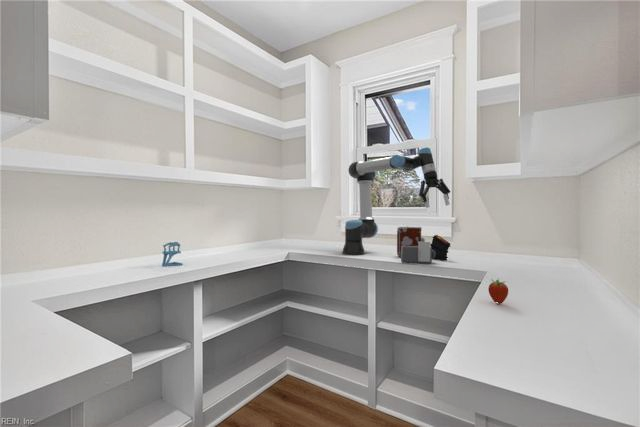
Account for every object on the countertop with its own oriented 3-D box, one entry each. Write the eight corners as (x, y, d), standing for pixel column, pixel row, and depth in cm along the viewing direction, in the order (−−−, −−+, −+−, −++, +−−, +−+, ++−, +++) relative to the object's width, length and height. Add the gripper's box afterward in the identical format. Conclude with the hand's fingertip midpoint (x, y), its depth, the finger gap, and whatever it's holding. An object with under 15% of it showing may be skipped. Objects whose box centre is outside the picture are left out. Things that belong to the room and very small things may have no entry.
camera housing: (402, 263, 176) (402, 245, 176) (400, 260, 187) (401, 244, 187) (436, 264, 173) (436, 246, 173) (433, 261, 183) (433, 245, 183)
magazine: (429, 255, 201) (437, 234, 196) (444, 266, 191) (453, 245, 185) (425, 255, 199) (433, 234, 194) (440, 267, 189) (449, 245, 183)
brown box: (429, 258, 198) (430, 226, 198) (399, 257, 199) (399, 226, 199) (425, 256, 208) (425, 226, 208) (396, 255, 208) (396, 226, 208)
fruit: (487, 304, 96) (488, 278, 96) (488, 300, 100) (488, 275, 100) (508, 307, 93) (508, 280, 93) (508, 303, 97) (508, 277, 97)
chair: (159, 265, 159) (159, 242, 159) (175, 263, 166) (175, 241, 166) (167, 267, 154) (167, 243, 154) (183, 265, 161) (183, 242, 161)
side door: (418, 261, 174) (418, 241, 174) (418, 261, 176) (418, 241, 176) (430, 262, 173) (430, 241, 173) (429, 261, 175) (430, 241, 175)
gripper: (414, 171, 181) (423, 206, 177) (450, 168, 188) (459, 202, 183) (408, 176, 188) (416, 209, 184) (443, 173, 195) (451, 205, 191)
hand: (437, 206), depth 184 cm, fingers open, 13 cm apart
